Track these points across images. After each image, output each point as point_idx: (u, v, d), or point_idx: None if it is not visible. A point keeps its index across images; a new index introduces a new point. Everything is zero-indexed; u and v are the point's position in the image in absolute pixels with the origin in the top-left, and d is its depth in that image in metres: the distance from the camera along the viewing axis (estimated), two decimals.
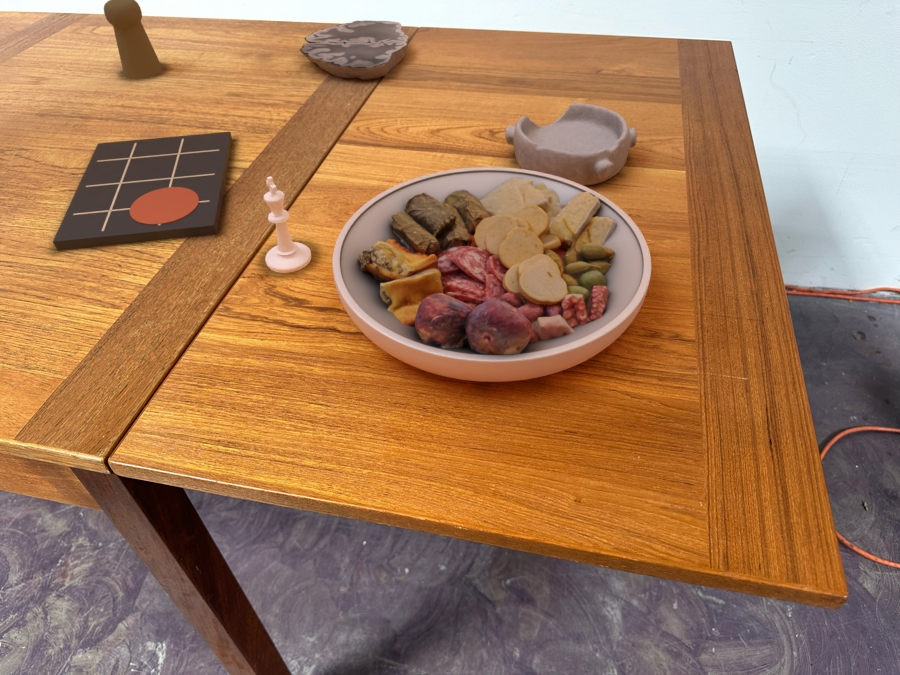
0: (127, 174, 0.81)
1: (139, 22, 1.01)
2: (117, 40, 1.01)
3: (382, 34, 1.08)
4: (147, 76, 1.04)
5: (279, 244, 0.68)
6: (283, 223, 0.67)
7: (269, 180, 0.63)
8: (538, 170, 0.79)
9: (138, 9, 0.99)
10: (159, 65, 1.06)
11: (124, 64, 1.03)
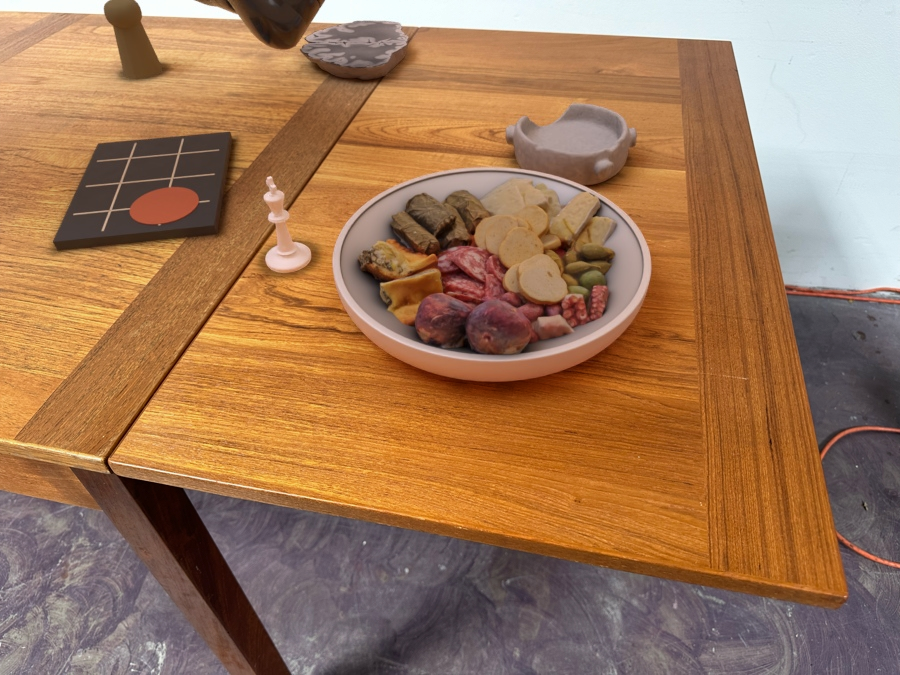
0: (127, 174, 0.81)
1: (139, 22, 1.01)
2: (117, 40, 1.01)
3: (382, 34, 1.08)
4: (147, 76, 1.04)
5: (279, 244, 0.68)
6: (283, 223, 0.67)
7: (269, 180, 0.63)
8: (538, 170, 0.79)
9: (138, 9, 0.99)
10: (159, 65, 1.06)
11: (124, 64, 1.03)
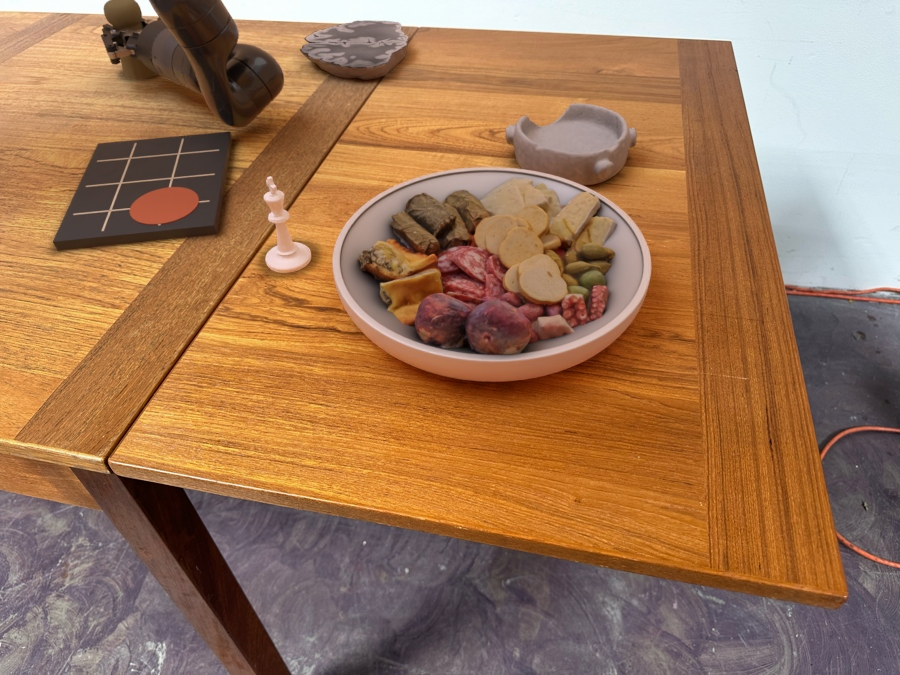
0: (127, 174, 0.81)
1: (139, 22, 1.01)
2: None
3: (382, 34, 1.08)
4: (147, 76, 1.04)
5: (279, 244, 0.68)
6: (283, 223, 0.67)
7: (269, 180, 0.63)
8: (538, 170, 0.79)
9: (138, 9, 0.99)
10: None
11: (124, 64, 1.03)
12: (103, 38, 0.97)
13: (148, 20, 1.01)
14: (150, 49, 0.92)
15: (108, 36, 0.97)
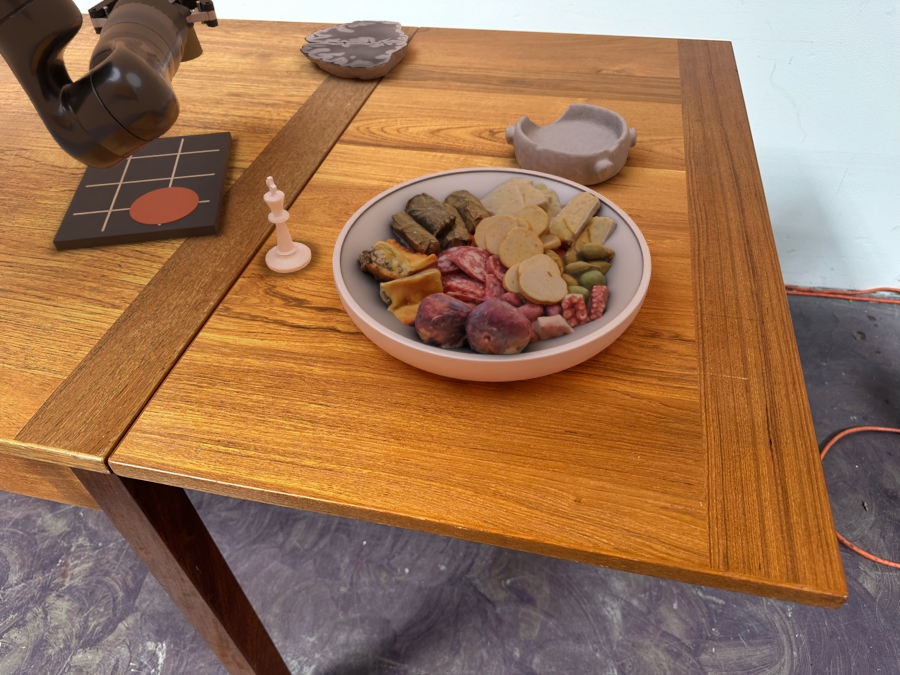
0: (127, 174, 0.81)
1: None
2: None
3: (382, 34, 1.08)
4: None
5: (279, 244, 0.68)
6: (283, 223, 0.67)
7: (269, 180, 0.63)
8: (538, 170, 0.79)
9: None
10: (191, 49, 0.81)
11: None
12: None
13: None
14: None
15: None
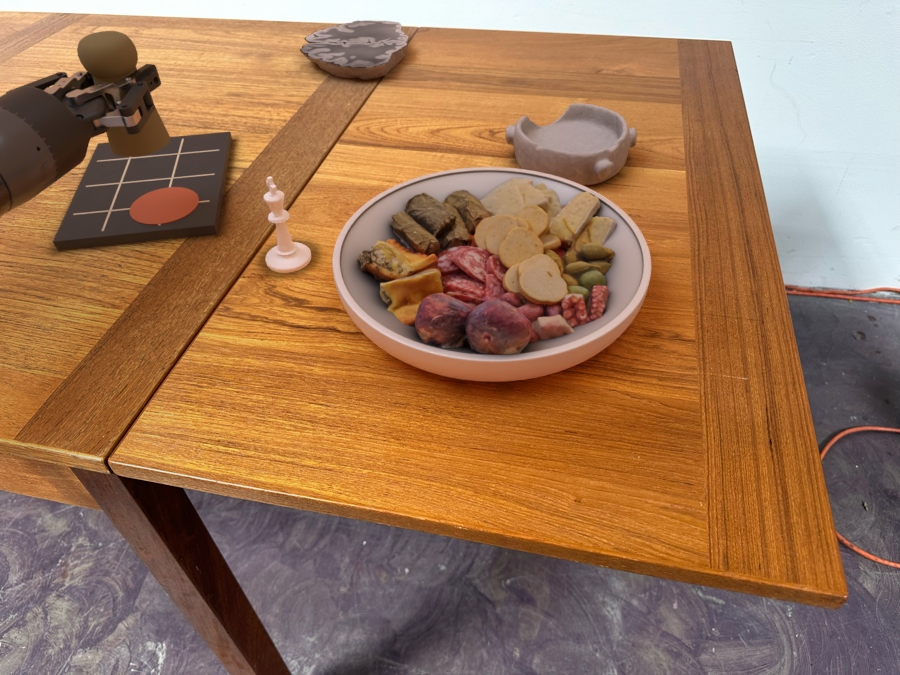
0: (127, 174, 0.81)
1: (113, 76, 0.63)
2: None
3: (382, 34, 1.08)
4: (115, 150, 0.68)
5: (279, 244, 0.68)
6: (283, 223, 0.67)
7: (269, 180, 0.63)
8: (538, 170, 0.79)
9: (108, 58, 0.62)
10: (142, 143, 0.68)
11: None
12: (44, 78, 0.64)
13: (126, 79, 0.63)
14: None
15: (54, 78, 0.64)
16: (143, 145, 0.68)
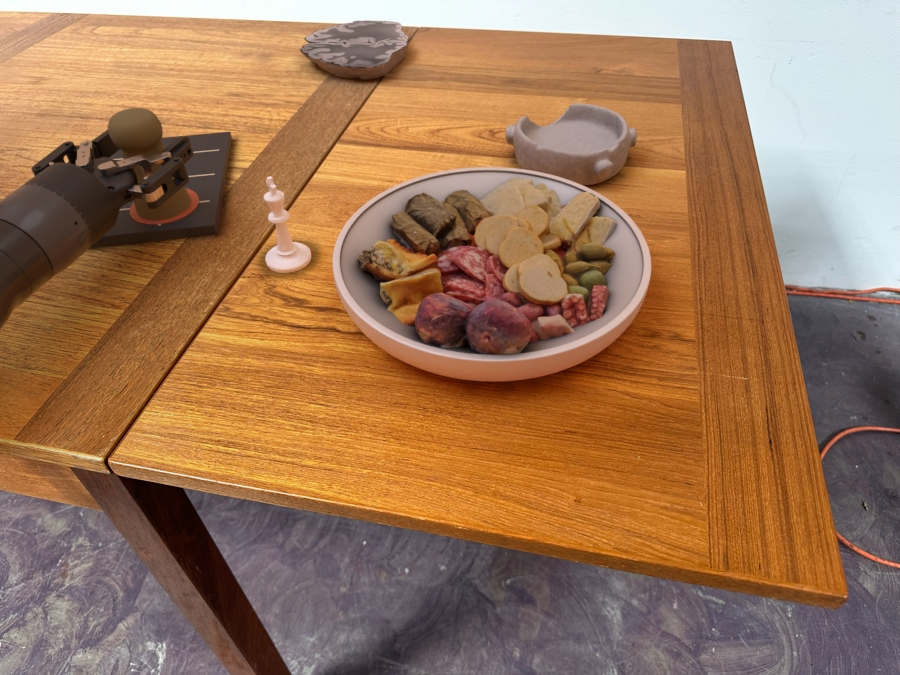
0: None
1: (141, 151, 0.69)
2: None
3: (382, 34, 1.08)
4: (141, 214, 0.73)
5: (279, 244, 0.68)
6: (283, 223, 0.67)
7: (269, 180, 0.63)
8: (538, 170, 0.79)
9: (136, 136, 0.67)
10: (166, 208, 0.73)
11: None
12: (55, 149, 0.68)
13: (162, 154, 0.67)
14: None
15: (65, 148, 0.68)
16: (167, 210, 0.73)
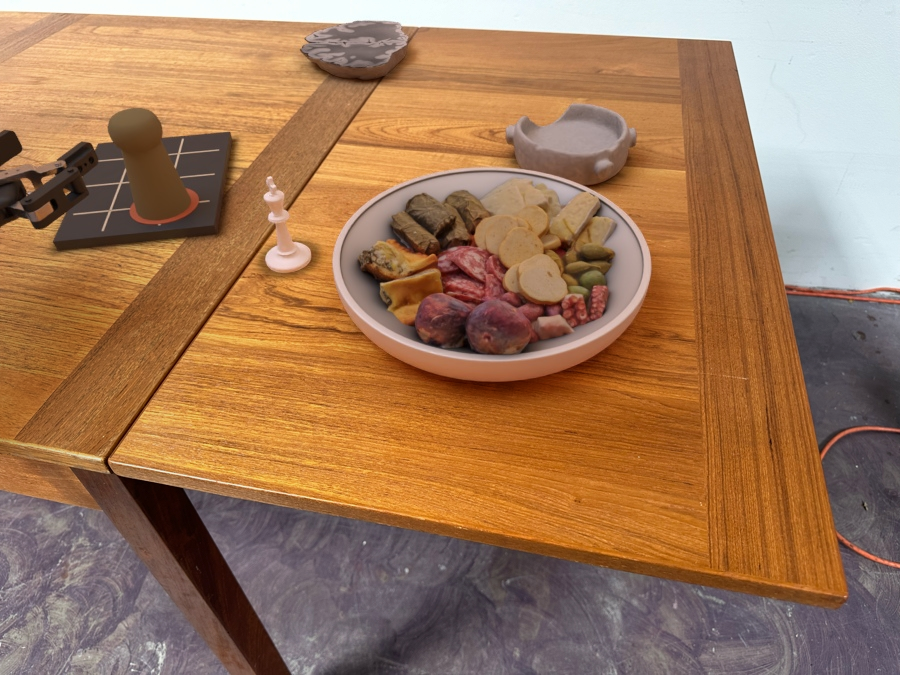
0: None
1: (141, 151, 0.69)
2: None
3: (382, 34, 1.08)
4: (141, 214, 0.73)
5: (279, 244, 0.68)
6: (283, 223, 0.67)
7: (269, 180, 0.63)
8: (538, 170, 0.79)
9: (136, 136, 0.67)
10: (166, 208, 0.73)
11: None
12: None
13: (55, 164, 0.57)
14: None
15: None
16: (167, 210, 0.73)
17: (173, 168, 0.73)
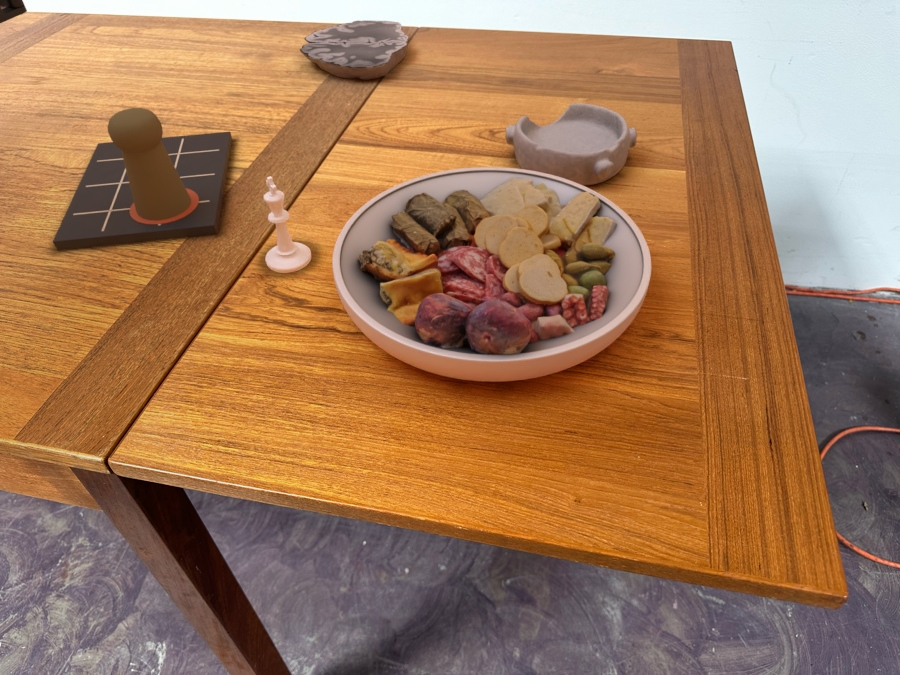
0: None
1: (141, 151, 0.69)
2: None
3: (382, 34, 1.08)
4: (141, 214, 0.73)
5: (279, 244, 0.68)
6: (283, 223, 0.67)
7: (269, 180, 0.63)
8: (538, 170, 0.79)
9: (136, 136, 0.67)
10: (166, 208, 0.73)
11: None
12: None
13: None
14: None
15: None
16: (167, 210, 0.73)
17: (173, 168, 0.73)
